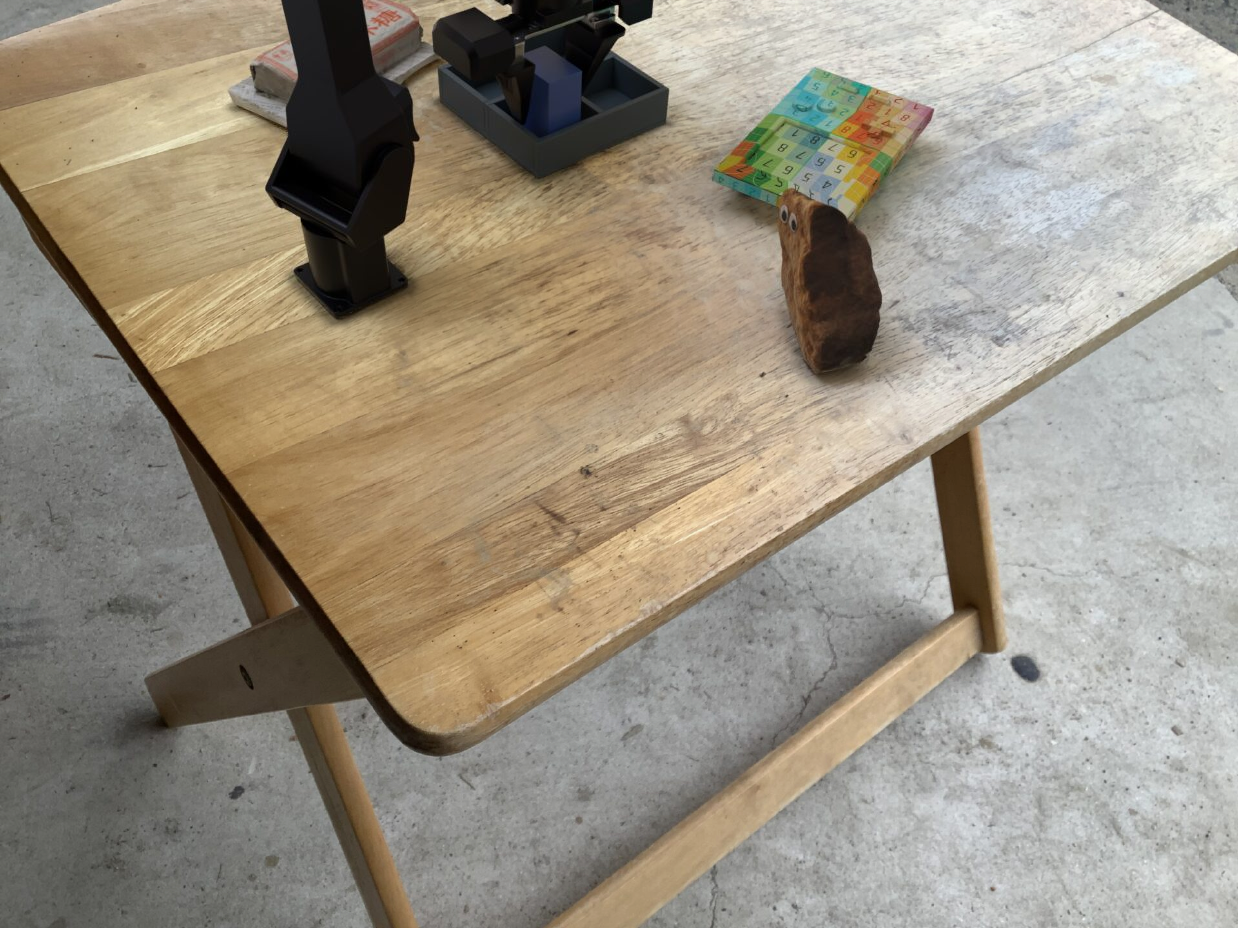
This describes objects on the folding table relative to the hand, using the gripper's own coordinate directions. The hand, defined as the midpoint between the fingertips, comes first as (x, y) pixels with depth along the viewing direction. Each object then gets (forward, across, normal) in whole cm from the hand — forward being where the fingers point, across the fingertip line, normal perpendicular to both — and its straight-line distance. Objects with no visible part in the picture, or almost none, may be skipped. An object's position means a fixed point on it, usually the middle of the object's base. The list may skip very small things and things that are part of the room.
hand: (546, 112), depth 94 cm
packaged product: (+3, +9, -19) cm, 22 cm away
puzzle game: (+3, -17, +18) cm, 25 cm away
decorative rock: (+3, -2, +31) cm, 31 cm away
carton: (+2, 0, 0) cm, 2 cm away
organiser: (+3, -4, -4) cm, 6 cm away
